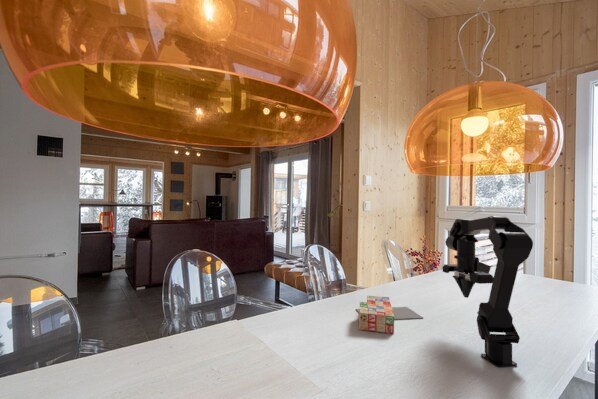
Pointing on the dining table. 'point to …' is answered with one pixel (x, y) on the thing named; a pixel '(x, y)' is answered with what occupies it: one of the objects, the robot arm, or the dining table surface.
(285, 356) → the dining table surface
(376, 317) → the stack of blocks
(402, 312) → the mat
